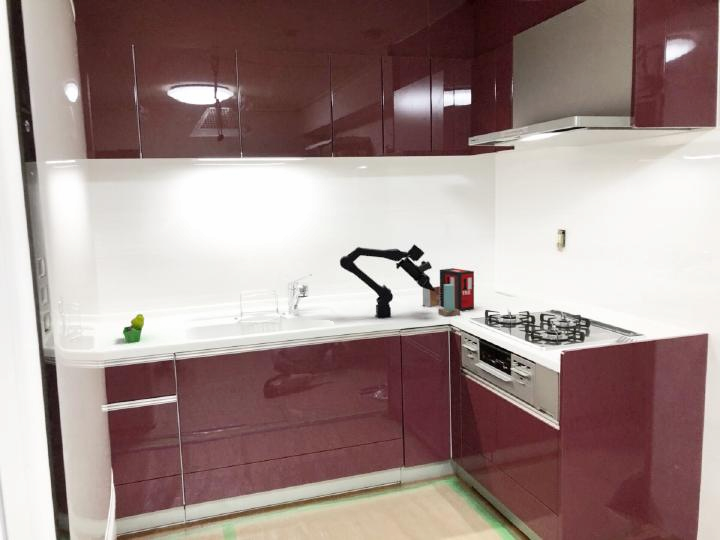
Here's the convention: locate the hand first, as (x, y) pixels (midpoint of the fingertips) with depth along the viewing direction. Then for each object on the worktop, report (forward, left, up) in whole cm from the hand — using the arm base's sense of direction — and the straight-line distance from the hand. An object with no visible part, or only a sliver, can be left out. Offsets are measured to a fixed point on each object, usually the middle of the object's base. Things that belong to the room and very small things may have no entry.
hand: (433, 289), depth 292 cm
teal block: (+8, -2, -10) cm, 13 cm away
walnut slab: (+8, -2, -13) cm, 15 cm away
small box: (+10, +23, -13) cm, 28 cm away
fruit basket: (-140, +10, -13) cm, 141 cm away
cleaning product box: (+19, +11, -13) cm, 25 cm away
